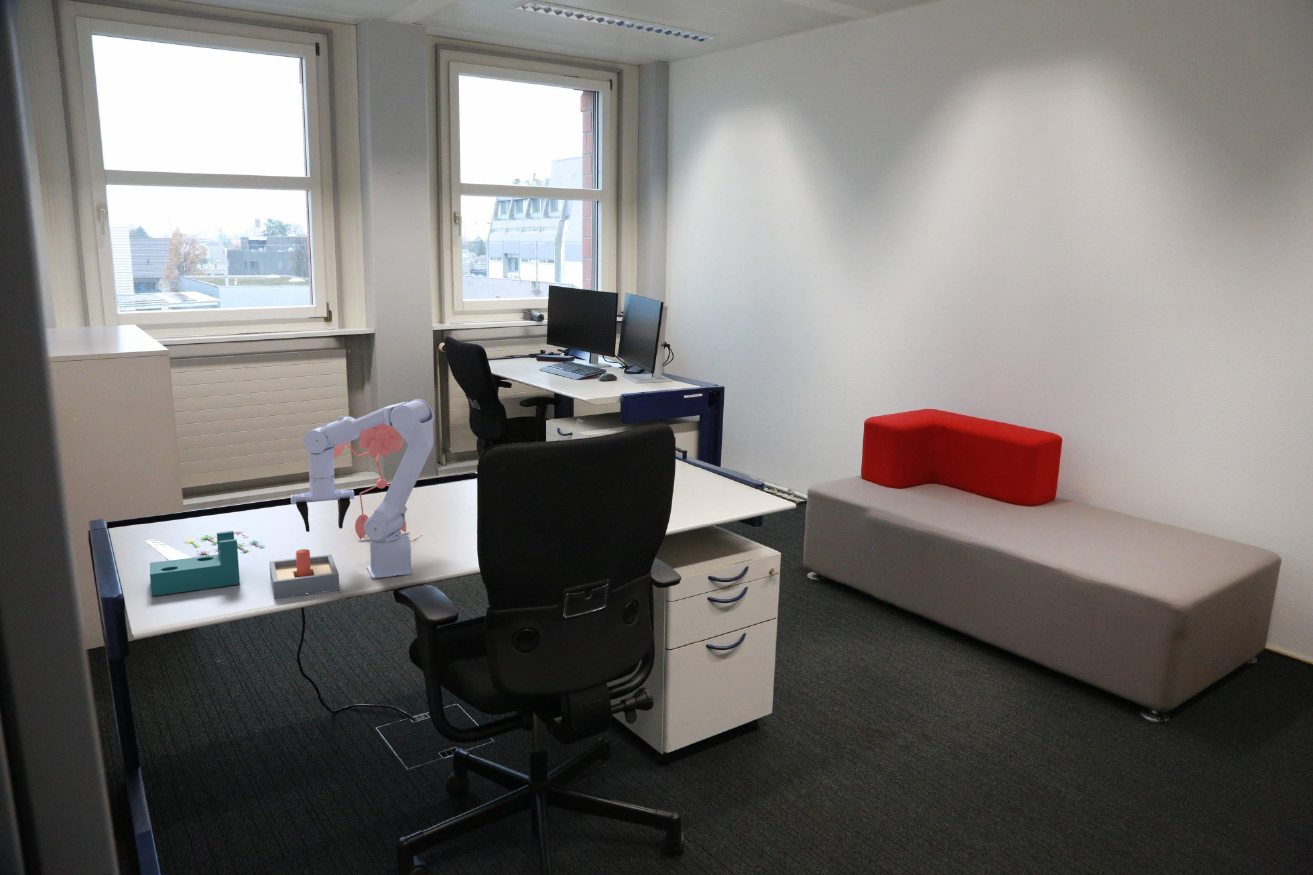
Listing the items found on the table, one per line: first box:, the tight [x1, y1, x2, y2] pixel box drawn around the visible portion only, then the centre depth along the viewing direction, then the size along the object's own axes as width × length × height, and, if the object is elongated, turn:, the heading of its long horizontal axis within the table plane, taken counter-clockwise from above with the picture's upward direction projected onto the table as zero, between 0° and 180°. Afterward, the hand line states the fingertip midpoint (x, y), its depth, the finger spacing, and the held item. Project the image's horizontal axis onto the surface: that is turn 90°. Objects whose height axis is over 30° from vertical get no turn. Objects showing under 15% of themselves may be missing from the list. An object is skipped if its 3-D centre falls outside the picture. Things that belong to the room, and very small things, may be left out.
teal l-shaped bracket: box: [149, 530, 241, 597], centre depth 208 cm, size 18×11×10 cm, turn 119°
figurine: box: [333, 423, 422, 543], centre depth 241 cm, size 15×26×35 cm, turn 123°
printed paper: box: [145, 530, 265, 561], centre depth 236 cm, size 30×30×2 cm
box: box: [269, 554, 340, 599], centre depth 211 cm, size 14×14×4 cm
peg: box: [295, 548, 311, 577], centre depth 211 cm, size 3×3×8 cm
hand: (324, 528), depth 222 cm, fingers open, 7 cm apart
